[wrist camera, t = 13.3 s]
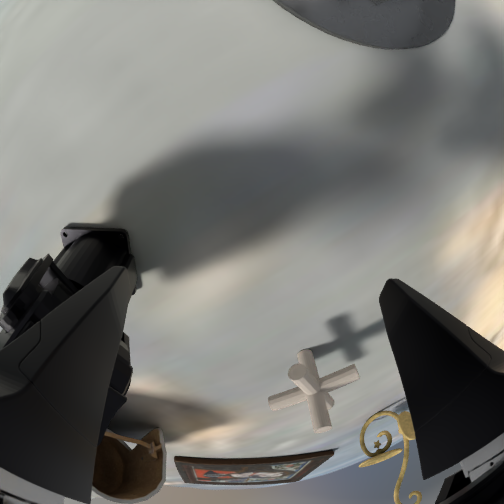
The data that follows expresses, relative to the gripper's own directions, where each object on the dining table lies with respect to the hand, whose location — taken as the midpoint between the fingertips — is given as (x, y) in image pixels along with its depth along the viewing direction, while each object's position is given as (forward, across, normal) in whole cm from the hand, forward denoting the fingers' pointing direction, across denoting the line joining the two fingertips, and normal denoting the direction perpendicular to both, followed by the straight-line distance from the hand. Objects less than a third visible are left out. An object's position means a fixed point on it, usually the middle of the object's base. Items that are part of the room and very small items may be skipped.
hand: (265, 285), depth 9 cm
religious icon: (+13, -10, +89) cm, 90 cm away
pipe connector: (+12, -9, +20) cm, 25 cm away
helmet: (+12, +23, +48) cm, 54 cm away
